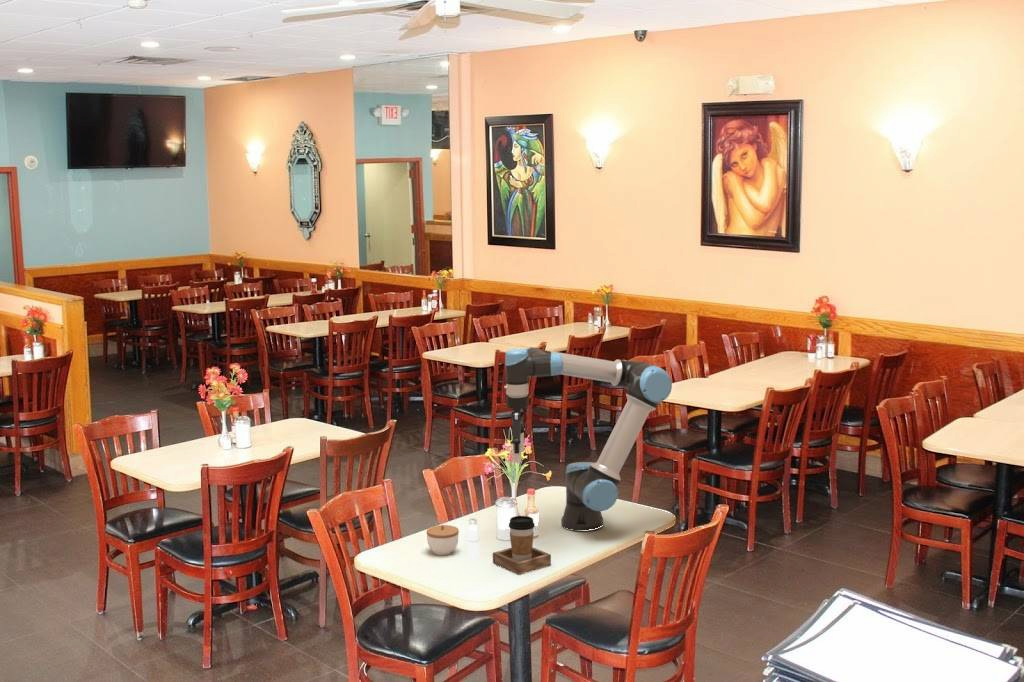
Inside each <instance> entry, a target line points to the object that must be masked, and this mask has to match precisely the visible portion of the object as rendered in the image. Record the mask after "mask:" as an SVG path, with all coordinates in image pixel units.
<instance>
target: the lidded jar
mask: <svg viewBox="0 0 1024 682" xmlns="http://www.w3.org/2000/svg"><path fill="white" fill-rule="evenodd" d="M459 532H460V530H459V528H458V527H456V526H454V525H449V524H447V525H446V524H439V525H434V526H431V527H428V528H427V530H426V540H427V545H428V547H429V549H430V550H431V551H432V552H433V553H434V555H437V554H439V555H438V556H447V555H446V554H448V555H450V553H451V552H452V553H453V551H454V550H455V549H457V545H458V542H459ZM452 553H451V554H452Z"/></svg>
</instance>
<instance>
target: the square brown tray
mask: <svg viewBox="0 0 1024 682" xmlns="http://www.w3.org/2000/svg"><path fill="white" fill-rule="evenodd" d="M493 563H494V564H493ZM492 564H493V565H495V564H496V566H497V567H500V566H501V568H502V569H504V568H505V569H504V570H507V571H509V572H511V571H512V573H513V572H514V573H513V574H515V573H516V575H517V576H520V575H523V574H526V573H525V572H527V573H529V571H530V572H533V571H536V569H537V570H539V569H542V568H547V567H549V566H551V565H552V554H550V553H548V552H545V551H543V550H540V549H538V548H535V547H533V546H532V556H531V559H528V560H525V561H521V562H518V561H515V560H513V558H512V549H511V547H509V548H504V549H502V550H498V551H495V552H494V551H493V552H492ZM546 566H547V567H546ZM532 570H533V571H532ZM522 573H523V574H522ZM519 574H520V575H519Z"/></svg>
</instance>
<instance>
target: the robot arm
mask: <svg viewBox="0 0 1024 682" xmlns="http://www.w3.org/2000/svg"><path fill="white" fill-rule="evenodd" d="M504 367H505V368H504V369H505V385H504V387H503V388H504V390H505V394H506V397H505V401H506V402H505V403H506V408H508V409H513V411H512V412H511V426H512V434H511V435H512V437H511V438H512V439H511V440H510V444H512V462H513V464H514V463H515V464H517V463H518V464H519V463H522V453H525V434H526V431H527V429H525V426H524V424H525V423H524V421H525V417H524V416H525V411H524V409H526V408H528V407H529V405H530V404H529V401H530V400H529V396H528V395H529V390H530V389H529V378H537V377H538V378H539V377H553V376H559V375H563V376H569V377H574V378H581V379H587V380H594V381H600V382H605V383H611V385H612V386H614V387H618V388H623V389H625V390H627V391H626V394H625V396H626V399H627V400H626V401H627V402H626V403H625V405H624V407H623V409H622V411H621V413H620V415H619V417H618V419H617V421H616V423H615V425H614V427H613V429H612V431H611V433H610V435H609V437H608V439H607V441H606V443H605V444H604V447H603V449H602V451H601V453H600V455H599V456H598V459H597V461H596V462H592V461H579V462H572V463H569V464H567V465H566V469H565V470H566V471H565V489H566V491H565V495H566V502H565V507H564V510H563V515H562V517H561V527H562V526H563V528H564V527H565V528H568V529H573V530H589V529H595V528H598V527H600V526H602V525H603V526H604V517H603V515H602V512H604V511H607V510H609V509H611V508H612V507H613V506H615V504H616V502H617V500H618V498H619V497H618V496H619V492H618V486H619V485H620V482H621V476H620V472H621V470H622V468H623V466H624V465H625V463H626V460H627V459H628V456H629V454H630V452H631V450H632V448H633V446H634V444H635V443H636V440H637V438H638V436H639V434H640V432H641V430H642V428H643V426H644V424H645V423H646V420H647V418H648V416H649V415H650V413H651V412H652V411H655V410H657V408H658V406H659V405H660V403H661V402H663V401H665V400H666V399H667V398H668V397H669V396H670V394H671V392H672V389H673V384H672V383H673V382H672V379H671V376H670V374H669V373H668V372H667V371H666V370H665V369H663V368H661V367H660V366H657V365H654V364H651V363H649V362H645V361H641V360H640V361H639V360H625V359H615V360H614V361H612V360H607V359H601V358H594V357H589V356H582V355H576V354H570V353H564V352H558V351H552V350H547V349H546V350H544V349H541V348H537V347H533V346H528V347H526V348H524V349H523V348H512V349H508V350H507V351H506V352H505V359H504ZM565 528H564V529H565ZM568 529H567V530H568Z"/></svg>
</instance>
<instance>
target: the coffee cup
mask: <svg viewBox="0 0 1024 682" xmlns="http://www.w3.org/2000/svg"><path fill="white" fill-rule="evenodd" d="M535 527H536V526H535V523H534V518H533V517H531V516H529V515H528V516H527V515H517V516H512V517H511V518H510V520H509V522H508V528H509V531H510V532H509V537H510V539H509V540H510V545H511V546H510V548H511V549H512V558H513V560H515V561H518V562H521V561H525V560H528V559H531V556H532V547H533V543H534V534H535V533H534V528H535Z"/></svg>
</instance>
